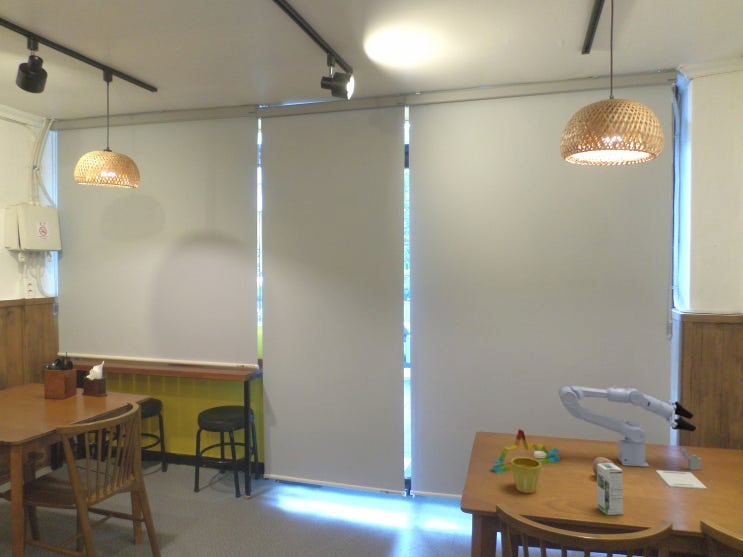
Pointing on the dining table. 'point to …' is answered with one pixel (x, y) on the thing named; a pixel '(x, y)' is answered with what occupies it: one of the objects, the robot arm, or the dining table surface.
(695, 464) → the lighter
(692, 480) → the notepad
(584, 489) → the dining table surface
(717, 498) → the dining table surface
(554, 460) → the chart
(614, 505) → the syrup box
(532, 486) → the plant pot
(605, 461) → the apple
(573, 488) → the dining table surface
